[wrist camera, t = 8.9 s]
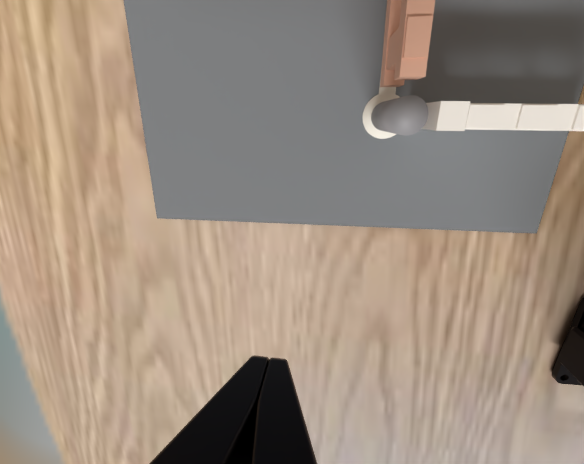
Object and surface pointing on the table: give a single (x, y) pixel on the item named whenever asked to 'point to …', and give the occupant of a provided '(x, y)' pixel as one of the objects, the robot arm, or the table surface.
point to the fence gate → (404, 64)
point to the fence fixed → (503, 116)
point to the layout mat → (347, 111)
